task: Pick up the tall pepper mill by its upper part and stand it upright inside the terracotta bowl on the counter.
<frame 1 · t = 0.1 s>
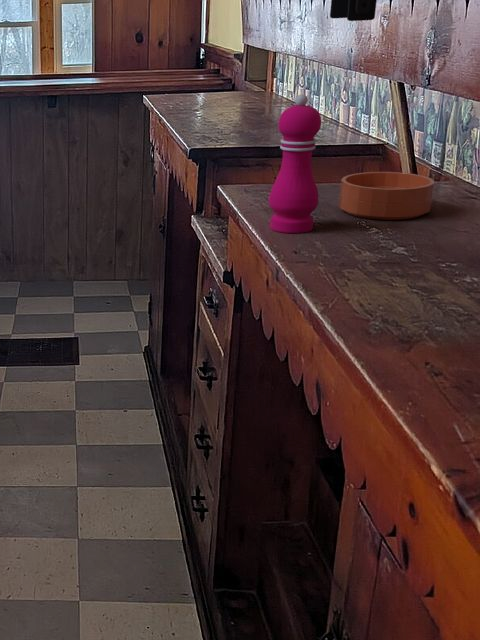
hand: (351, 19, 113), 30 cm above the worktop, tool pointing down, fingers open, 9 cm apart
bowl: (383, 210, 140), on the worktop
pepper mill: (291, 229, 133), on the worktop
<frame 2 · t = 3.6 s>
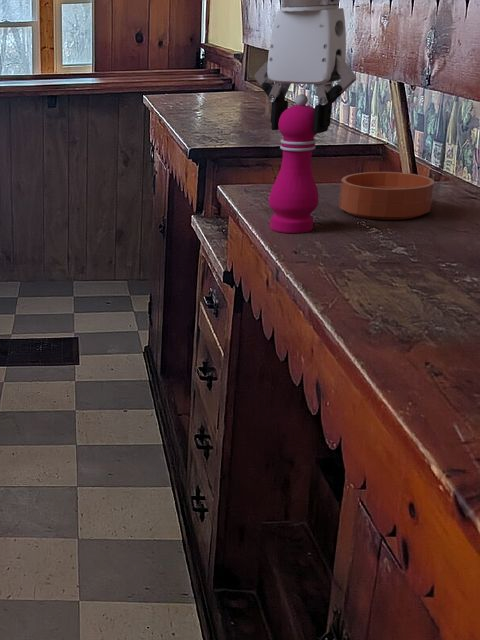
hand: (299, 129, 128), 15 cm above the worktop, tool pointing down, fingers closed on pepper mill, 6 cm apart
pepper mill: (291, 229, 133), on the worktop, touching gripper
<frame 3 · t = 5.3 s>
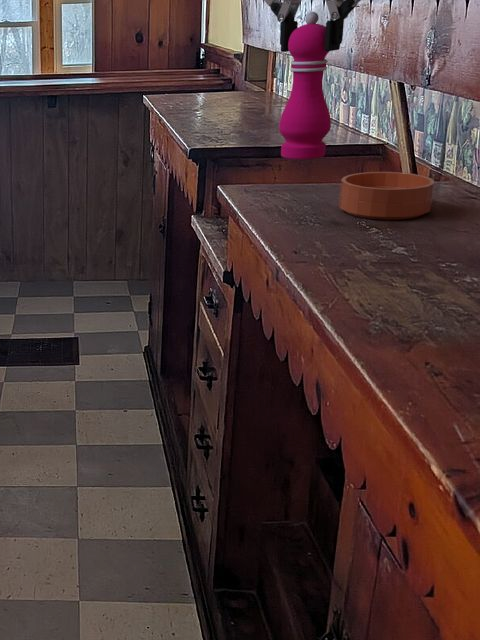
hand: (309, 49, 123), 26 cm above the worktop, tool pointing down, fingers closed on pepper mill, 6 cm apart
pepper mill: (302, 157, 129), point 11 cm above the worktop, touching gripper
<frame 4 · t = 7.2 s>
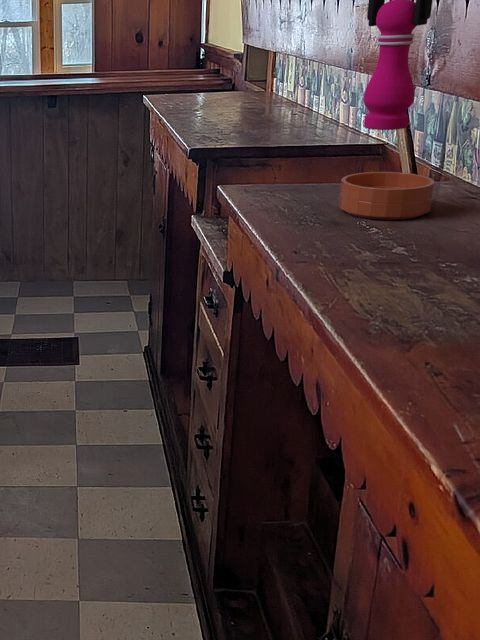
hand: (397, 24, 128), 29 cm above the worktop, tool pointing down, fingers closed on pepper mill, 6 cm apart
pepper mill: (385, 128, 134), point 13 cm above the worktop, touching gripper
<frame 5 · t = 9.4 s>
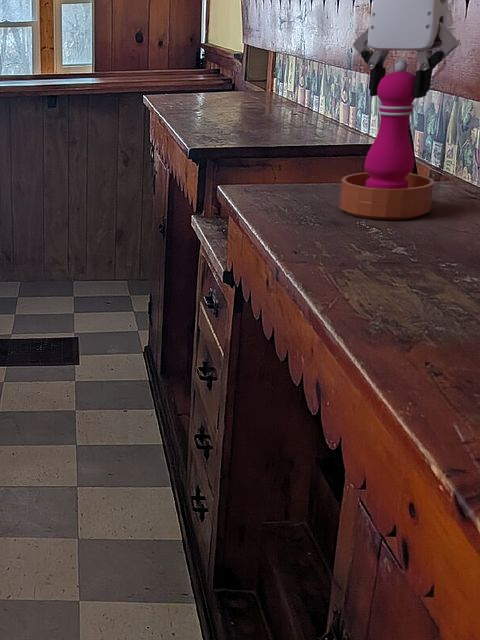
hand: (397, 95, 133), 18 cm above the worktop, tool pointing down, fingers closed on pepper mill, 6 cm apart
pepper mill: (385, 192, 139), point 3 cm above the worktop, touching gripper
when the fingers open (16 cm above the worktop, at t = 10.7 s): pepper mill stays where it is, resting on bowl.
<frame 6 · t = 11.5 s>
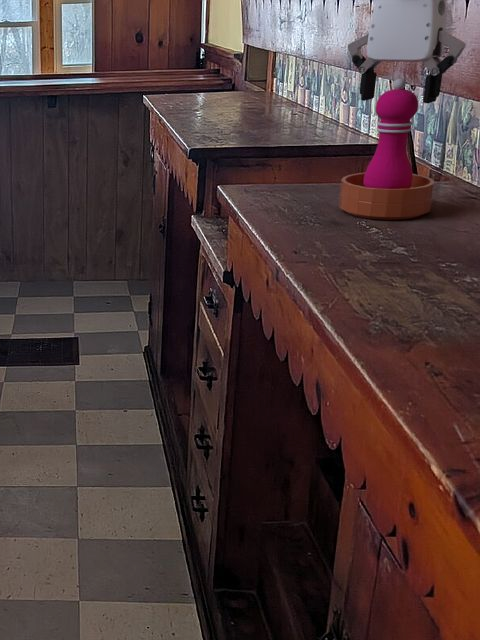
hand: (397, 100, 133), 17 cm above the worktop, tool pointing down, fingers open, 9 cm apart
pepper mill: (384, 208, 140), resting on bowl
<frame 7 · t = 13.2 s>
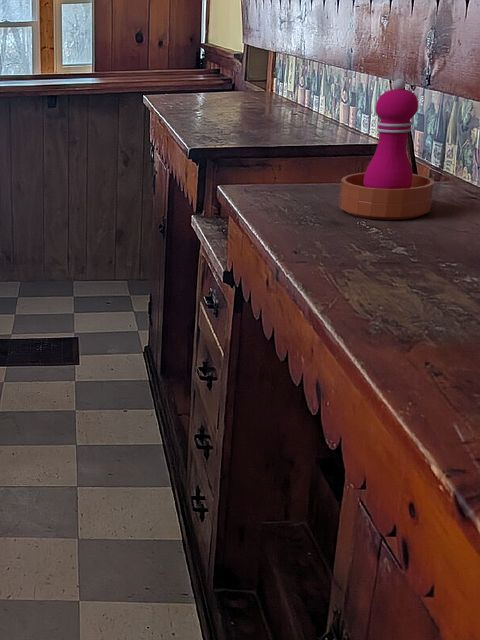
nothing on the worktop moved.
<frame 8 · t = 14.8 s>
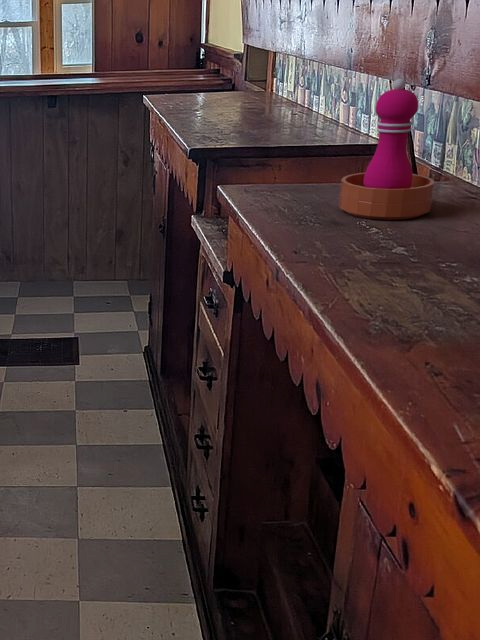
nothing on the worktop moved.
at the end: pepper mill 0.1 cm off-centre in the bowl, point 0.4 cm above the bowl's base; pepper mill tilted 0°; the gripper is holding nothing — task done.
